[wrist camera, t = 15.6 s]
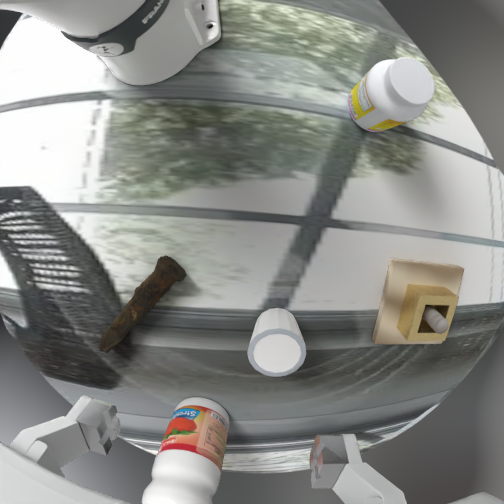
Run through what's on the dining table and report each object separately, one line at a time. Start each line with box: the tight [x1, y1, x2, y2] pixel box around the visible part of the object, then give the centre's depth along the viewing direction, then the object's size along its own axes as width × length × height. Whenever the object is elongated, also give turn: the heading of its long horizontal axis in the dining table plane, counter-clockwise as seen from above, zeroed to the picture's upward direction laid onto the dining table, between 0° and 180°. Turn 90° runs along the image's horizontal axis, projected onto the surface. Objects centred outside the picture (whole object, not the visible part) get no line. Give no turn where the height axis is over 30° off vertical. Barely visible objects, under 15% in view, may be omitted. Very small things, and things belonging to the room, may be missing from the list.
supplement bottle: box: [348, 57, 435, 132], centre depth 27 cm, size 7×7×13 cm
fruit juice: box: [142, 397, 229, 504], centre depth 32 cm, size 9×9×28 cm
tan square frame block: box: [397, 284, 459, 341], centre depth 35 cm, size 6×6×4 cm
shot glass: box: [247, 308, 306, 377], centre depth 38 cm, size 7×7×7 cm
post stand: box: [372, 258, 464, 344], centre depth 35 cm, size 12×12×8 cm
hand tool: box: [99, 256, 186, 353], centre depth 40 cm, size 19×4×5 cm, turn 133°
